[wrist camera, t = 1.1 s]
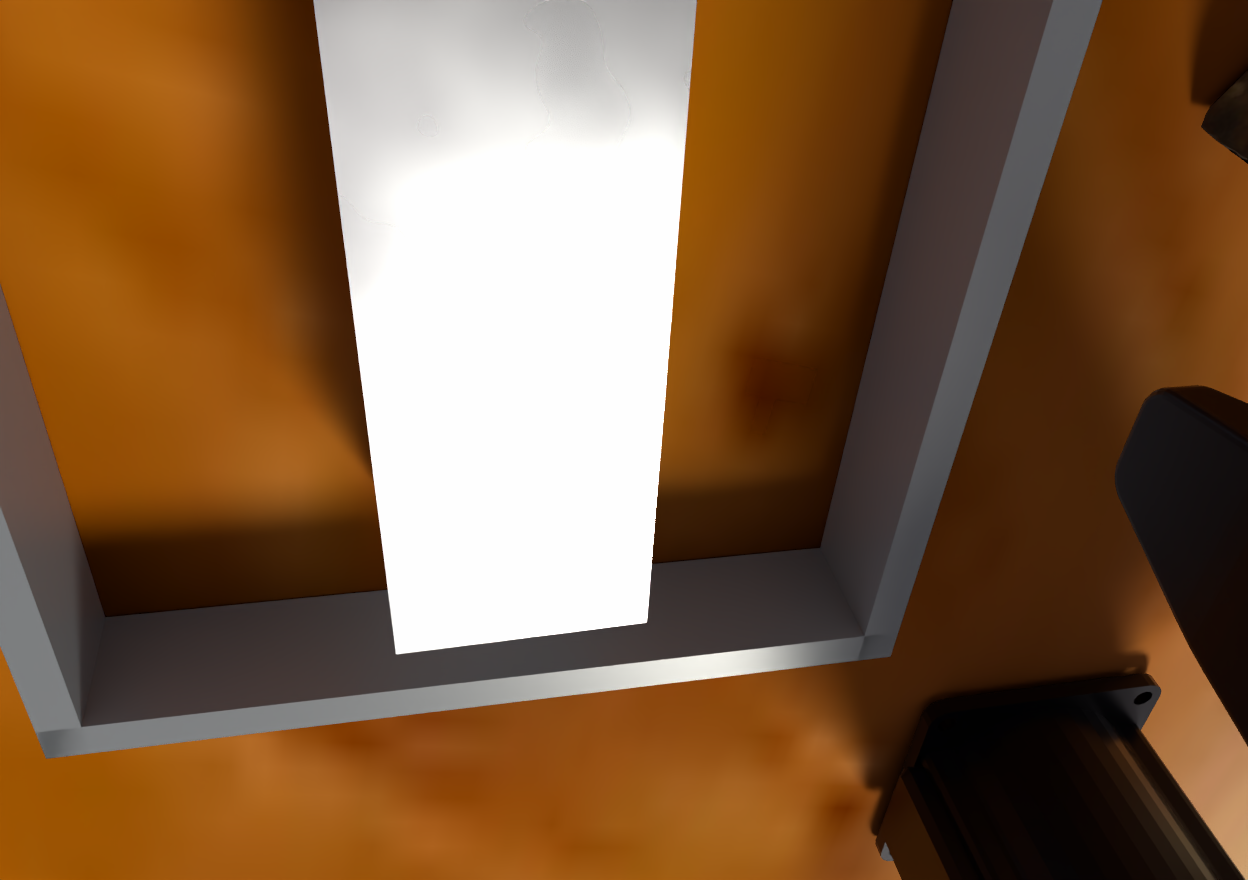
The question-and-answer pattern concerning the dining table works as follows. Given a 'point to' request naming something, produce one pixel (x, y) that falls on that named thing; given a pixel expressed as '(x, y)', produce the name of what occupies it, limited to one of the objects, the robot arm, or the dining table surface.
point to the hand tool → (1231, 118)
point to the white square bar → (511, 297)
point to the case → (679, 591)
